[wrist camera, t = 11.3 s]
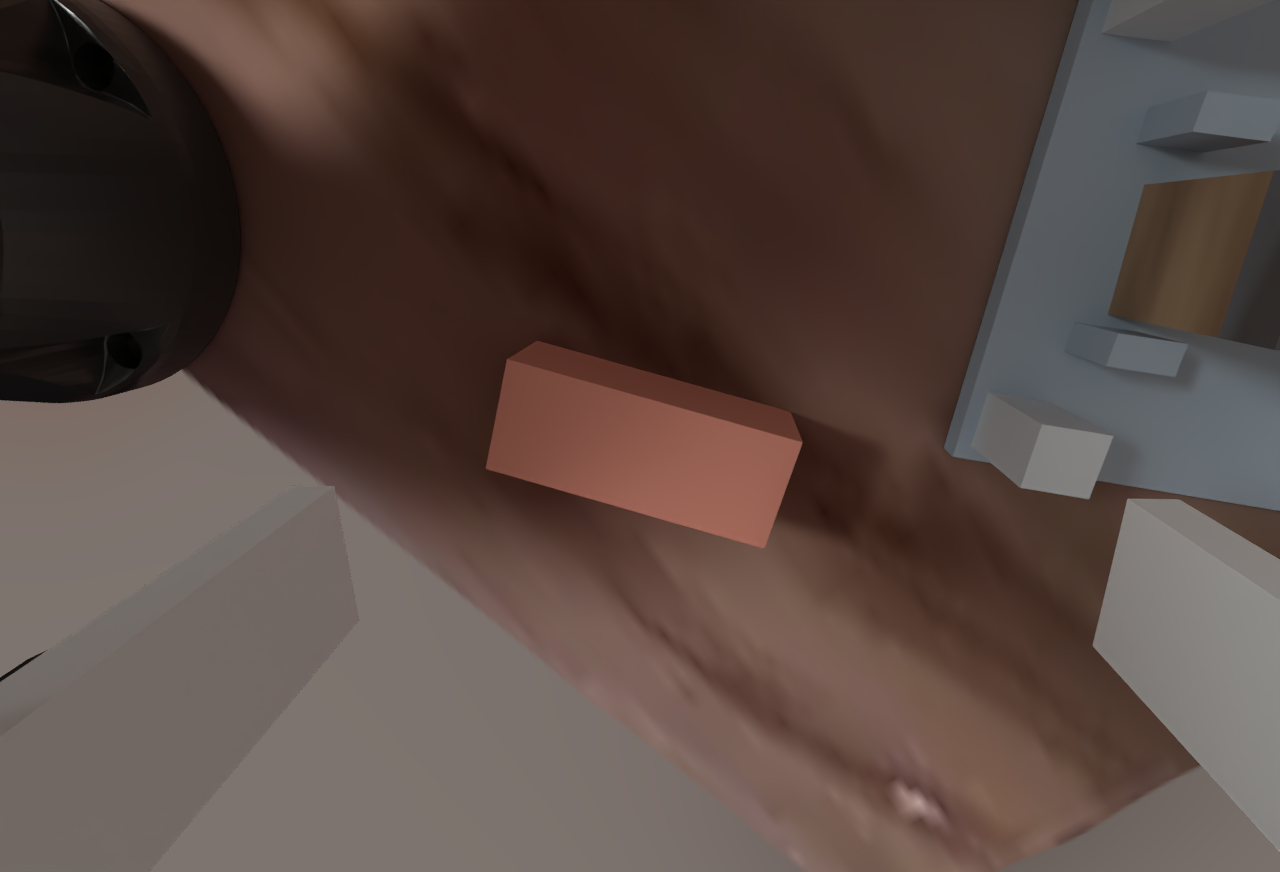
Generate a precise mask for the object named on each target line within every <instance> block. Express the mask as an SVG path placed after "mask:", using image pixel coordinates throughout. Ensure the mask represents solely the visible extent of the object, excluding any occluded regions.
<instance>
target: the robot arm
mask: <svg viewBox="0 0 1280 872" xmlns="http://www.w3.org/2000/svg"><path fill="white" fill-rule="evenodd" d="M239 257H240V224H239V213H238V206H237V199H236V194H235V190H234V185H233V181H232V177H231V173H230V170H229V166H228V163H227V160H226V157H225V155H224V152H223V149H222V146H221V144H220V142H219V139H218V137H217V134H216V132H215V130H214V128H213V126H212V124H211V122H210V120H209V118H208V116H207V114H206V112H205V110H204V109H203V107H202V105H201V103H200V101H199V100H198V98H197V97H196V95H195V94H194V92H193V91H192V89H191V87H190V86H189V84H188V83H187V82H186V80H185V79H184V78H183V76H182V75H181V73H180V72H179V71H178V70H177V68H176V67H175V66H174V65H173V63H172V62H171V61H170V60H169V59H168V57H167V56H166V55H165V54H164V53H163V52H162V51H161V50H160V49H159V48H158V47H157V46H156V44H155V43H153V42H152V41H151V40H150V39H149V38H148V37H147V36H146V35H145V34H144V33H143V32H142V31H141V30H140V29H138V28H137V27H136V26H135V25H134V24H132V23H131V22H130V21H129V20H127V19H126V18H125V17H123V16H122V15H121V14H119V13H118V12H117V11H115V10H114V9H112V8H111V7H109V6H107V5H106V4H104V3H103V2H101V1H99V0H0V400H5V401H23V402H42V403H71V402H81V401H90V400H95V399H100V398H104V397H108V396H112V395H116V394H119V393H123V392H127V391H130V390H134V389H138V388H141V387H144V386H148V385H151V384H154V383H157V382H159V381H162V380H164V379H166V378H168V377H170V376H172V375H173V374H175V373H176V372H178V371H180V370H181V369H183V368H184V367H185V366H186V365H188V364H189V363H190V362H191V361H192V360H194V359H195V358H196V357H197V356H198V355H199V354H200V353H201V352H202V350H203V349H204V348H205V347H206V346H207V345H208V343H209V342H210V341H211V339H212V338H213V336H214V335H215V333H216V332H217V330H218V328H219V327H220V325H221V323H222V321H223V319H224V317H225V315H226V312H227V310H228V307H229V304H230V302H231V299H232V295H233V292H234V288H235V284H236V279H237V274H238V266H239ZM358 621H359V617H358V612H357V607H356V601H355V595H354V590H353V585H352V580H351V574H350V569H349V563H348V557H347V552H346V547H345V541H344V536H343V531H342V525H341V519H340V514H339V509H338V503H337V498H336V492H335V487H334V486H291V487H290V488H288V489H287V490H285V491H284V492H282V493H281V494H280V495H278V496H276V497H275V498H274V499H272V500H271V501H269V502H268V503H266V504H265V505H263V506H262V507H260V508H259V509H257V510H256V511H254V512H253V513H251V514H250V515H248V516H247V517H245V518H244V519H242V520H241V521H239V522H238V523H236V524H235V525H234V526H232V527H230V528H229V529H227V530H226V531H224V532H223V533H221V534H220V535H219V536H217V537H215V538H214V539H212V540H211V541H209V542H208V543H207V544H205V545H204V546H202V547H201V548H199V549H198V550H196V551H195V552H193V553H192V554H190V555H189V556H187V557H186V558H184V559H183V560H182V561H180V562H178V563H177V564H175V565H174V566H172V567H171V568H169V569H168V570H166V571H165V572H163V573H162V574H160V575H159V576H157V577H156V578H155V579H153V580H151V581H150V582H148V583H147V584H146V585H144V586H143V587H141V588H140V589H138V590H137V591H135V592H134V593H132V594H131V595H129V596H128V597H126V598H125V599H123V600H122V601H121V602H119V603H117V604H116V605H114V606H113V607H111V608H110V609H108V610H107V611H105V612H104V613H103V614H101V615H99V616H98V617H96V618H95V619H93V620H92V621H90V622H89V623H88V624H86V625H84V626H83V627H82V628H80V629H79V630H77V631H76V632H74V633H73V634H71V635H70V636H68V637H67V638H65V639H64V640H62V641H61V642H59V643H58V644H56V645H55V646H53V647H52V648H50V649H49V650H47V651H44V652H42V653H40V654H38V655H36V656H34V657H32V658H30V659H28V660H26V661H25V662H23V663H22V664H20V665H19V666H17V667H16V668H14V669H13V670H11V671H10V672H8V673H6V674H5V675H3V676H2V677H1V678H0V872H150V871H151V870H152V868H153V867H154V866H155V865H156V864H157V862H158V861H159V860H160V859H161V858H162V856H163V855H164V854H165V853H166V852H167V850H168V849H169V848H170V847H171V846H172V844H173V843H174V842H175V841H176V840H177V838H178V837H179V836H180V835H181V834H182V832H183V831H184V830H185V829H186V828H187V826H188V825H189V824H190V823H191V822H192V820H193V819H194V818H195V817H196V815H197V814H198V813H199V812H200V811H201V810H202V808H203V807H204V806H205V805H206V803H207V802H208V801H209V800H210V799H211V798H212V796H213V795H214V794H215V793H216V792H217V790H218V789H219V788H220V787H221V785H222V784H223V783H224V782H225V781H226V780H227V778H228V777H229V776H230V775H231V774H232V772H233V771H234V770H235V769H236V768H237V766H238V765H239V764H240V763H241V762H242V760H243V759H244V758H245V757H246V756H247V754H248V753H249V752H250V751H251V750H252V748H253V747H254V746H255V745H256V744H257V742H258V741H259V740H260V739H261V738H262V736H263V735H264V734H265V733H266V732H267V730H268V729H269V728H270V727H271V726H272V724H273V723H274V722H275V721H276V720H277V718H278V717H279V716H280V715H281V714H282V712H283V711H284V710H285V709H286V708H287V706H288V705H289V704H290V703H291V701H292V700H293V699H294V698H295V697H296V696H297V694H298V693H299V692H300V691H301V690H302V688H303V687H304V686H305V685H306V684H307V682H308V681H309V680H310V679H311V678H312V677H313V675H314V674H315V673H316V672H317V671H318V669H319V668H320V667H321V666H322V664H323V663H324V662H325V661H326V660H327V659H328V657H329V656H330V655H331V654H332V652H333V651H334V650H335V649H336V648H337V646H338V645H339V644H340V643H341V642H342V641H343V639H344V638H345V637H346V636H347V634H348V633H349V632H350V631H351V630H352V629H353V627H354V626H355V625H356V624H357V623H358ZM1093 647H1094V648H1095V649H1096V650H1097V651H1098V652H1099V654H1100V655H1101V656H1102V657H1103V658H1104V659H1105V660H1106V661H1107V662H1108V664H1109V665H1110V666H1111V667H1112V668H1113V669H1114V670H1115V671H1116V672H1117V673H1118V675H1119V676H1120V677H1121V678H1122V679H1123V680H1124V681H1125V682H1126V683H1127V684H1128V686H1129V687H1130V688H1131V689H1132V690H1133V691H1134V692H1135V693H1136V694H1137V695H1138V697H1139V698H1140V699H1141V700H1142V701H1143V702H1144V703H1145V704H1146V705H1147V707H1148V708H1149V709H1150V710H1151V711H1152V712H1153V713H1154V714H1155V715H1156V716H1157V718H1158V719H1159V720H1160V721H1161V722H1162V723H1163V724H1164V725H1165V726H1166V727H1167V729H1168V730H1169V731H1170V732H1171V733H1172V734H1173V735H1174V736H1175V737H1176V739H1177V740H1178V741H1179V742H1180V743H1181V744H1182V745H1183V746H1184V747H1185V748H1186V750H1187V751H1188V752H1189V753H1190V754H1191V755H1192V756H1193V757H1194V758H1195V759H1196V761H1197V762H1198V763H1199V764H1200V765H1201V766H1202V767H1203V768H1204V769H1205V771H1206V772H1207V773H1209V775H1210V776H1211V777H1212V778H1213V779H1214V780H1215V781H1216V783H1217V784H1218V785H1219V786H1220V787H1221V788H1222V789H1223V790H1224V791H1225V793H1226V794H1227V795H1228V796H1229V797H1230V798H1231V799H1232V800H1233V801H1234V803H1235V804H1236V805H1237V806H1238V807H1239V808H1240V809H1241V810H1242V811H1243V812H1244V813H1245V815H1246V816H1247V817H1248V818H1249V819H1250V820H1251V821H1252V822H1253V823H1254V825H1255V826H1256V827H1257V828H1258V829H1259V830H1260V831H1261V832H1262V833H1263V834H1264V836H1265V837H1266V838H1267V839H1268V840H1269V841H1270V842H1271V843H1272V844H1273V846H1275V848H1276V849H1277V850H1278V851H1279V852H1280V559H1278V558H1276V557H1275V556H1273V555H1271V554H1270V553H1268V552H1266V551H1265V550H1263V549H1261V548H1260V547H1258V546H1256V545H1255V544H1253V543H1251V542H1250V541H1248V540H1246V539H1245V538H1243V537H1241V536H1240V535H1238V534H1236V533H1235V532H1233V531H1231V530H1230V529H1228V528H1226V527H1225V526H1223V525H1221V524H1220V523H1218V522H1216V521H1215V520H1213V519H1211V518H1210V517H1208V516H1206V515H1205V514H1203V513H1201V512H1200V511H1198V510H1196V509H1195V508H1193V507H1191V506H1190V505H1188V504H1186V503H1185V502H1183V501H1181V500H1179V499H1127V503H1126V507H1125V511H1124V516H1123V520H1122V524H1121V528H1120V532H1119V537H1118V541H1117V545H1116V549H1115V553H1114V558H1113V562H1112V566H1111V570H1110V574H1109V579H1108V583H1107V587H1106V591H1105V595H1104V600H1103V604H1102V608H1101V612H1100V616H1099V620H1098V625H1097V629H1096V633H1095V637H1094V641H1093Z"/></svg>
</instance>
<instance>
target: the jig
mask: <svg viewBox="0 0 1280 872" xmlns="http://www.w3.org/2000/svg"><path fill="white" fill-rule="evenodd" d="M1275 170H1280V0H1079V1H1078V5H1077V8H1076V11H1075V14H1074V18H1073V21H1072V24H1071V28H1070V31H1069V34H1068V38H1067V41H1066V44H1065V48H1064V51H1063V54H1062V58H1061V61H1060V64H1059V67H1058V71H1057V74H1056V77H1055V81H1054V84H1053V87H1052V91H1051V94H1050V97H1049V101H1048V104H1047V107H1046V110H1045V114H1044V117H1043V120H1042V124H1041V127H1040V130H1039V134H1038V137H1037V140H1036V144H1035V147H1034V150H1033V154H1032V157H1031V160H1030V163H1029V167H1028V170H1027V173H1026V177H1025V180H1024V183H1023V187H1022V190H1021V193H1020V197H1019V200H1018V203H1017V207H1016V210H1015V213H1014V216H1013V220H1012V223H1011V226H1010V230H1009V233H1008V236H1007V240H1006V243H1005V246H1004V250H1003V253H1002V256H1001V260H1000V263H999V266H998V269H997V273H996V276H995V279H994V283H993V286H992V289H991V293H990V296H989V299H988V303H987V306H986V309H985V313H984V316H983V319H982V322H981V326H980V329H979V332H978V336H977V339H976V342H975V346H974V349H973V352H972V356H971V359H970V362H969V365H968V369H967V372H966V375H965V379H964V382H963V385H962V389H961V392H960V395H959V399H958V402H957V405H956V409H955V412H954V415H953V418H952V422H951V425H950V428H949V432H948V435H947V438H946V442H945V445H944V449H945V450H946V451H947V452H948V453H949V454H950V455H951V456H952V457H957V458H963V459H969V460H975V461H981V462H987V463H992V464H993V465H994V466H995V467H996V468H997V469H999V470H1000V471H1001V472H1002V473H1003V474H1005V475H1006V476H1007V477H1008V478H1009V479H1010V480H1012V481H1013V482H1014V483H1015V484H1016V485H1018V486H1019V487H1020V488H1025V489H1031V490H1037V491H1043V492H1048V493H1054V494H1060V495H1066V496H1072V497H1078V498H1084V499H1089V498H1090V496H1091V493H1092V490H1093V488H1094V485H1095V483H1096V481H1102V482H1108V483H1114V484H1120V485H1126V486H1132V487H1138V488H1144V489H1150V490H1156V491H1162V492H1168V493H1174V494H1180V495H1187V496H1193V497H1199V498H1205V499H1211V500H1217V501H1223V502H1229V503H1235V504H1241V505H1247V506H1253V507H1259V508H1265V509H1271V510H1277V511H1280V350H1272V349H1268V348H1263V347H1258V346H1253V345H1249V344H1244V343H1239V342H1235V341H1230V340H1225V339H1221V338H1216V337H1211V336H1207V335H1202V334H1197V333H1193V332H1188V331H1183V330H1179V329H1174V328H1169V327H1164V326H1160V325H1155V324H1150V323H1146V322H1141V321H1136V320H1132V319H1127V318H1122V317H1118V316H1113V315H1108V312H1109V309H1110V305H1111V301H1112V298H1113V294H1114V291H1115V287H1116V284H1117V280H1118V276H1119V273H1120V269H1121V266H1122V262H1123V259H1124V255H1125V252H1126V248H1127V244H1128V241H1129V237H1130V234H1131V230H1132V227H1133V223H1134V220H1135V216H1136V212H1137V209H1138V205H1139V202H1140V198H1141V195H1142V191H1143V188H1144V185H1146V184H1155V183H1165V182H1174V181H1183V180H1192V179H1201V178H1211V177H1220V176H1229V175H1238V174H1248V173H1257V172H1266V171H1275Z"/></svg>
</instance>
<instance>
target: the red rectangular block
mask: <svg viewBox="0 0 1280 872" xmlns="http://www.w3.org/2000/svg"><path fill="white" fill-rule="evenodd" d="M802 443H803V442H802V439H801V437H800V434H799V432H798V429H797V427H796V424H795V422H794V419H793V417H792V414H791V412H790V411H786V410H783V409H779V408H776V407H772V406H769V405H765V404H761V403H758V402H754V401H751V400H747V399H744V398H740V397H736V396H733V395H729V394H726V393H722V392H719V391H715V390H711V389H708V388H704V387H701V386H697V385H694V384H690V383H687V382H683V381H679V380H676V379H672V378H669V377H665V376H662V375H658V374H654V373H651V372H647V371H644V370H640V369H637V368H633V367H629V366H626V365H622V364H619V363H615V362H612V361H608V360H604V359H601V358H597V357H594V356H590V355H587V354H583V353H580V352H576V351H572V350H569V349H565V348H562V347H558V346H555V345H551V344H547V343H544V342H540V341H536V342H534V343H532V344H531V345H529V346H528V347H526V348H524V349H523V350H521V351H519V352H518V353H516V354H515V355H513V356H511V357H510V358H508V359H507V362H506V367H505V372H504V377H503V382H502V388H501V393H500V398H499V403H498V408H497V413H496V418H495V423H494V429H493V434H492V439H491V444H490V449H489V454H488V459H487V464H486V469H488V470H491V471H495V472H498V473H502V474H505V475H509V476H512V477H516V478H519V479H523V480H526V481H530V482H533V483H537V484H540V485H544V486H547V487H551V488H554V489H558V490H561V491H565V492H568V493H572V494H575V495H579V496H582V497H585V498H589V499H592V500H596V501H599V502H603V503H606V504H610V505H613V506H617V507H620V508H624V509H627V510H631V511H634V512H638V513H641V514H645V515H648V516H652V517H655V518H659V519H662V520H666V521H669V522H673V523H676V524H680V525H683V526H686V527H690V528H693V529H697V530H700V531H704V532H707V533H711V534H714V535H718V536H721V537H725V538H728V539H732V540H735V541H739V542H742V543H746V544H749V545H753V546H756V547H760V548H763V549H764V548H765V546H766V543H767V540H768V537H769V535H770V532H771V529H772V526H773V524H774V521H775V518H776V515H777V512H778V510H779V507H780V504H781V501H782V499H783V496H784V493H785V490H786V487H787V485H788V482H789V479H790V476H791V474H792V471H793V468H794V465H795V462H796V460H797V457H798V454H799V451H800V449H801V446H802Z"/></svg>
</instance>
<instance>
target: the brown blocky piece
mask: <svg viewBox="0 0 1280 872" xmlns="http://www.w3.org/2000/svg"><path fill="white" fill-rule="evenodd" d="M1108 315H1113V316H1118V317H1122V318H1127V319H1132V320H1136V321H1141V322H1146V323H1150V324H1155V325H1160V326H1164V327H1169V328H1174V329H1179V330H1183V331H1188V332H1193V333H1197V334H1202V335H1207V336H1211V337H1216V338H1221V339H1225V340H1230V341H1235V342H1239V343H1244V344H1249V345H1253V346H1258V347H1263V348H1268V349H1272V350H1280V170H1275V171H1266V172H1257V173H1248V174H1238V175H1229V176H1220V177H1211V178H1201V179H1192V180H1183V181H1174V182H1165V183H1155V184H1146V185H1144V188H1143V191H1142V195H1141V198H1140V202H1139V205H1138V209H1137V212H1136V216H1135V220H1134V223H1133V227H1132V230H1131V234H1130V237H1129V241H1128V244H1127V248H1126V252H1125V255H1124V259H1123V262H1122V266H1121V269H1120V273H1119V276H1118V280H1117V284H1116V287H1115V291H1114V294H1113V298H1112V301H1111V305H1110V309H1109V312H1108Z"/></svg>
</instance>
